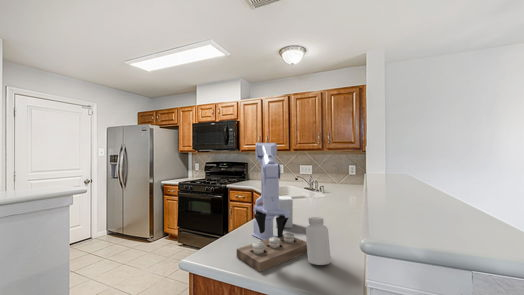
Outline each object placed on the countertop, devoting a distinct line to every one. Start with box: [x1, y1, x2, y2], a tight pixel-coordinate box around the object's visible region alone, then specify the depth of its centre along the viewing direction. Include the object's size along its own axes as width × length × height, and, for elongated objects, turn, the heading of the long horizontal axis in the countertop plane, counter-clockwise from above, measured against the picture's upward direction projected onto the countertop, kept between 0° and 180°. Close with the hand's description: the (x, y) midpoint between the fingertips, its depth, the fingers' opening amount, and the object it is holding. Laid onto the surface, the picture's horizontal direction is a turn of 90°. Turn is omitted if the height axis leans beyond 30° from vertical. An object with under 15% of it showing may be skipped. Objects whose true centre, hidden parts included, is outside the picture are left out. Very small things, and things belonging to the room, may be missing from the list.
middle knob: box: [269, 237, 280, 250], centre depth 89 cm, size 4×4×3 cm
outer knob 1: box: [252, 241, 265, 256], centre depth 84 cm, size 4×4×3 cm
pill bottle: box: [305, 216, 332, 266], centre depth 82 cm, size 8×8×15 cm
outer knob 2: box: [283, 232, 295, 244], centre depth 94 cm, size 4×4×3 cm
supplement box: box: [274, 195, 294, 229], centre depth 124 cm, size 9×9×15 cm
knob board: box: [236, 233, 307, 273], centre depth 89 cm, size 14×26×3 cm, turn 129°
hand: (270, 234), depth 83 cm, fingers open, 7 cm apart
